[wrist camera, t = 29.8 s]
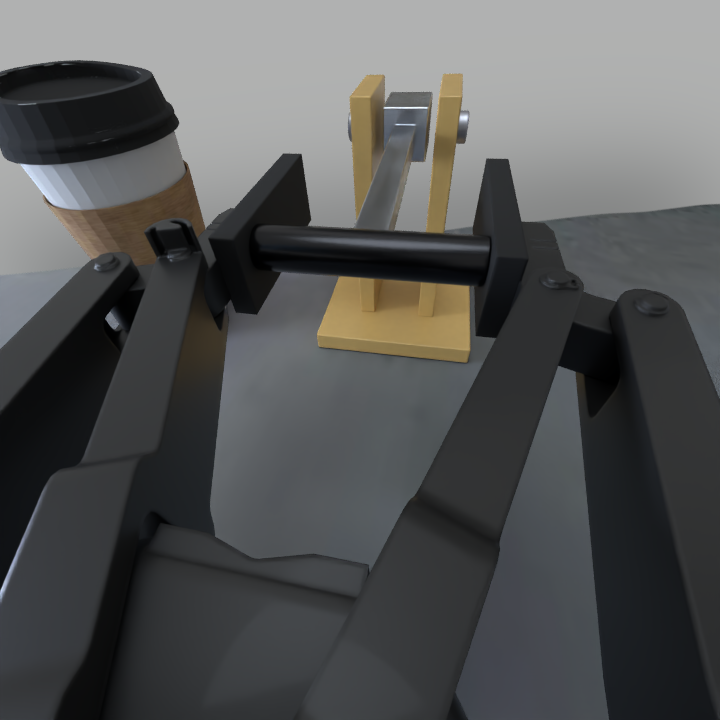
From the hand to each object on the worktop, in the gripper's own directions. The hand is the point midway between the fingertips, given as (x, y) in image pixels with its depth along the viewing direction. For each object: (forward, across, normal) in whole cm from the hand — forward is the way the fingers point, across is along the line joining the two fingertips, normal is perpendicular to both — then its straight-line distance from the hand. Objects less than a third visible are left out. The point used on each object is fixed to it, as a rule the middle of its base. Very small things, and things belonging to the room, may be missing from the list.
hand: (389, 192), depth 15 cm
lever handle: (+1, 0, -1) cm, 1 cm away
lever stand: (+7, 0, -12) cm, 13 cm away
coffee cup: (+4, -16, -12) cm, 20 cm away
